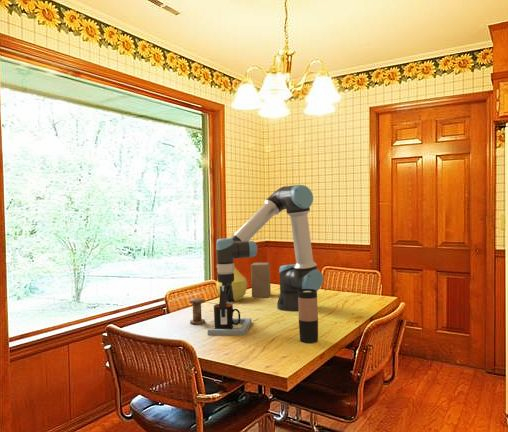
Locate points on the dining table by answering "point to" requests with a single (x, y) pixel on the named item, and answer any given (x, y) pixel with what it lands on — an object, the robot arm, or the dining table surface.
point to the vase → (236, 285)
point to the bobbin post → (197, 311)
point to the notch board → (242, 331)
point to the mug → (229, 317)
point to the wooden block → (260, 280)
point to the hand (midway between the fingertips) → (227, 320)
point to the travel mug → (308, 315)
